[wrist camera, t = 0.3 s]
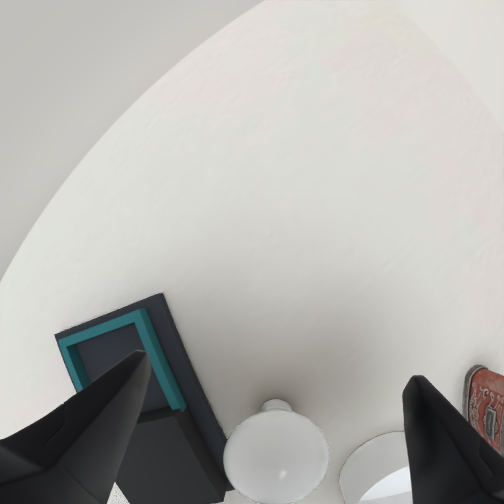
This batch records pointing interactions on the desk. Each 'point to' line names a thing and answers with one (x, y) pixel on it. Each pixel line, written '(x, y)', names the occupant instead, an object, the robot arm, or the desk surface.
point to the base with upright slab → (378, 472)
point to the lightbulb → (276, 455)
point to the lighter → (485, 405)
